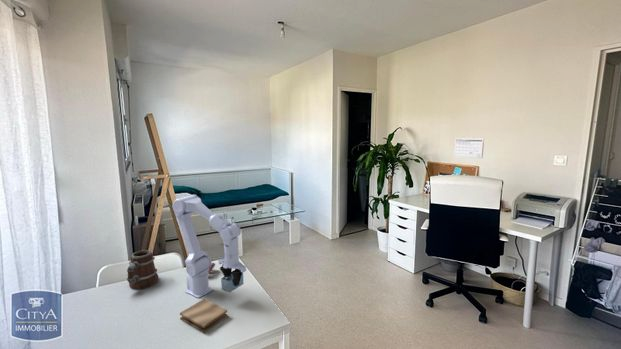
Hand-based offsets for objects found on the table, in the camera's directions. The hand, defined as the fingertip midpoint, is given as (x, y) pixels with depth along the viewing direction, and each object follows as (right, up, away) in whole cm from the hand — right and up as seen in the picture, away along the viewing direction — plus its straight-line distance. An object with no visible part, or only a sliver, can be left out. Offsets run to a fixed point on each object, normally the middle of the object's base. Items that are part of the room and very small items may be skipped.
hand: (232, 283), depth 118 cm
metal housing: (0, -2, 0) cm, 2 cm away
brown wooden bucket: (-47, -6, +13) cm, 49 cm away
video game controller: (-20, -5, +24) cm, 31 cm away
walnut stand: (-8, -10, -10) cm, 16 cm away
